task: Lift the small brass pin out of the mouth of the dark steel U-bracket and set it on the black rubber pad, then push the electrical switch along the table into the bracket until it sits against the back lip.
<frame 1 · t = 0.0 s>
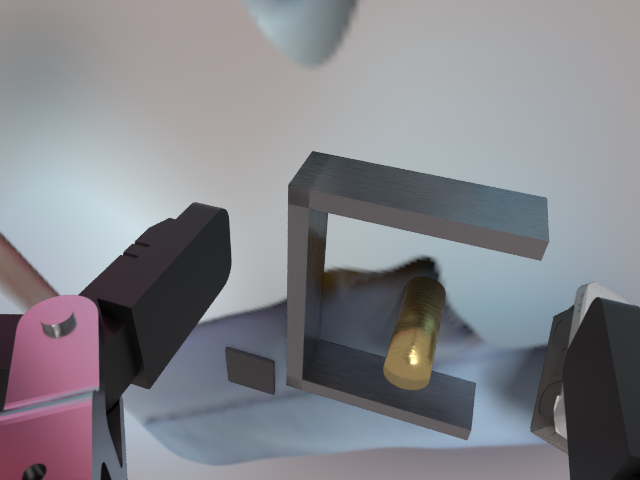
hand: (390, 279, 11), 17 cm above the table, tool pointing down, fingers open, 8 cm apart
electrical switch: (620, 337, 32), on the table
bracket: (410, 288, 34), on the table
pad: (251, 370, 45), on the table
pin: (425, 292, 34), on the table
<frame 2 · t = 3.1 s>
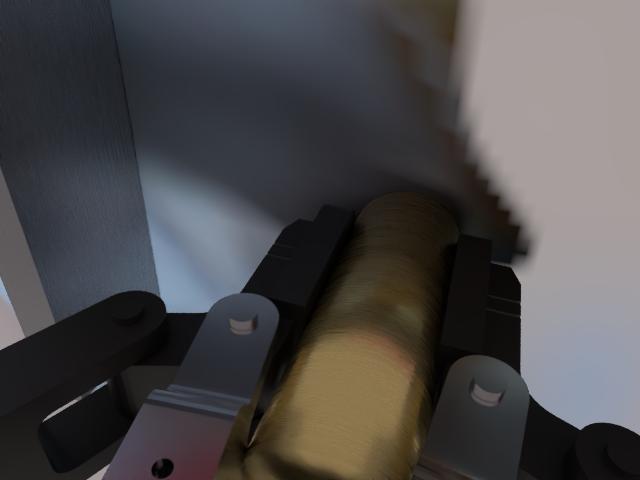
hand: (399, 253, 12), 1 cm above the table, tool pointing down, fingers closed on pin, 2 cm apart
bracket: (410, 203, 12), on the table
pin: (406, 238, 13), on the table, touching gripper
when the fingers open (2 cm above the table, at t = 8.5 s): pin stays where it is, resting on pad.
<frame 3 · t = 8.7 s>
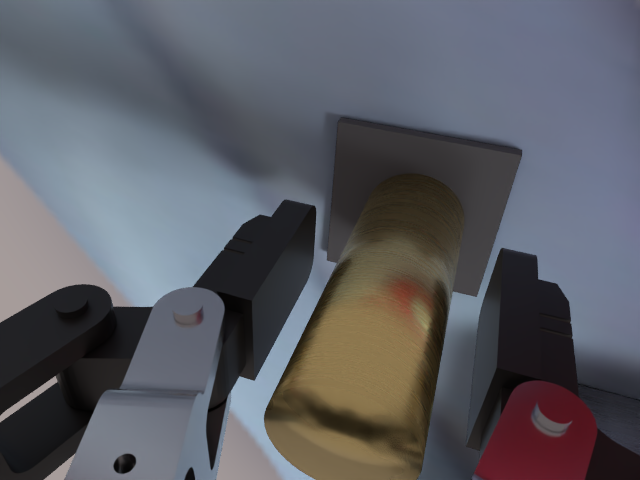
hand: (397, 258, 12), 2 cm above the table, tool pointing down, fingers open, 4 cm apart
pad: (413, 209, 14), on the table
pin: (413, 218, 14), resting on pad
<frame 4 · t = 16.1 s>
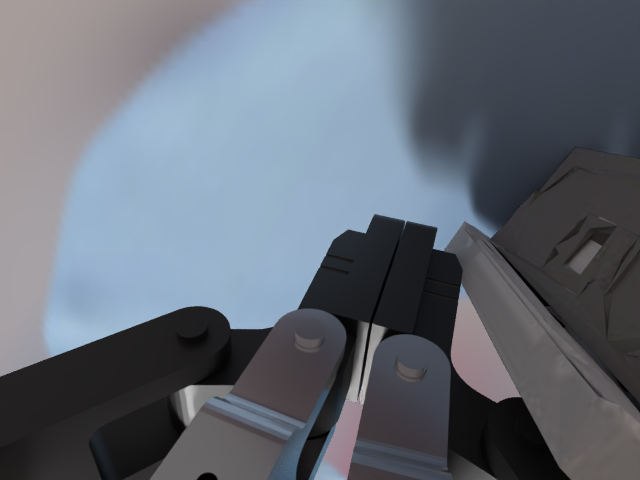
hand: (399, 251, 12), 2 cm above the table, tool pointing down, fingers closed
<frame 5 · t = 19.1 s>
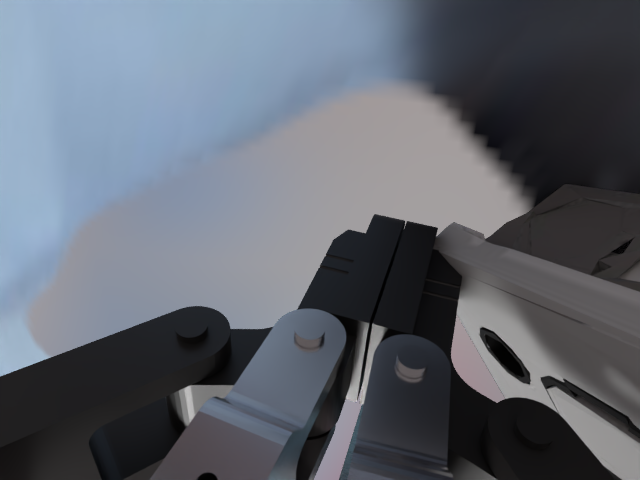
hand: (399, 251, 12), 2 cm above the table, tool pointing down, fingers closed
electrical switch: (570, 310, 14), on the table, touching gripper
bracket: (638, 259, 13), on the table
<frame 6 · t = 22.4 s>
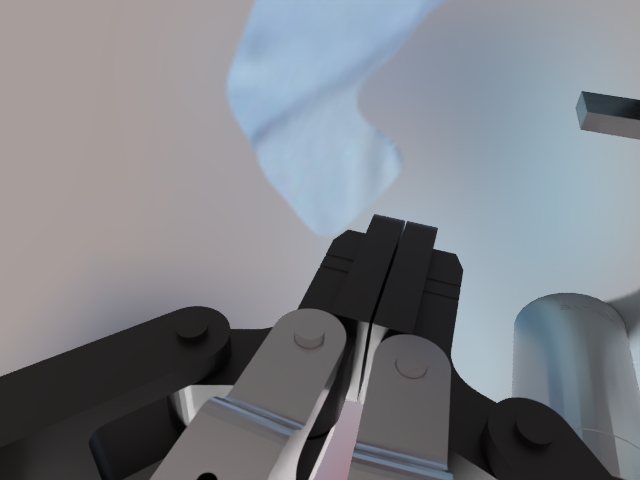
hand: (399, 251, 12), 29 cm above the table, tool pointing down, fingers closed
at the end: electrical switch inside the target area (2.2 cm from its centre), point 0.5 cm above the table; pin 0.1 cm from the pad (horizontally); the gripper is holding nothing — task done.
